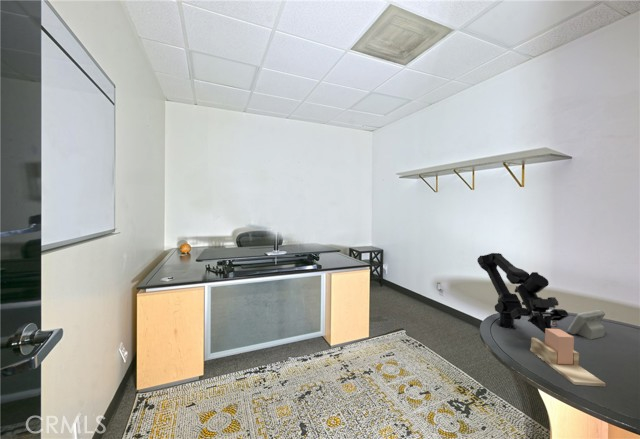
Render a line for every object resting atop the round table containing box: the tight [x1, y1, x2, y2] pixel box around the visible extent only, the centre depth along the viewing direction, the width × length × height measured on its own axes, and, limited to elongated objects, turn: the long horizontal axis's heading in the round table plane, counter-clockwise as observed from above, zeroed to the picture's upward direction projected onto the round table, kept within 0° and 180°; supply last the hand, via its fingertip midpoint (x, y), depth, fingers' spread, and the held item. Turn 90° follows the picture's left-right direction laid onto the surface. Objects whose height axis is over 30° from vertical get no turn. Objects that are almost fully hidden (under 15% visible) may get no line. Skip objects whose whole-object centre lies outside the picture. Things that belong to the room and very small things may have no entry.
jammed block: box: [544, 328, 575, 364], centre depth 92 cm, size 6×5×10 cm
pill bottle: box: [546, 306, 558, 327], centre depth 122 cm, size 6×6×10 cm
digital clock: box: [567, 309, 606, 340], centre depth 112 cm, size 16×9×11 cm, turn 94°
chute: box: [529, 337, 606, 387], centre depth 89 cm, size 19×9×6 cm, turn 175°
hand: (550, 336), depth 96 cm, fingers closed
